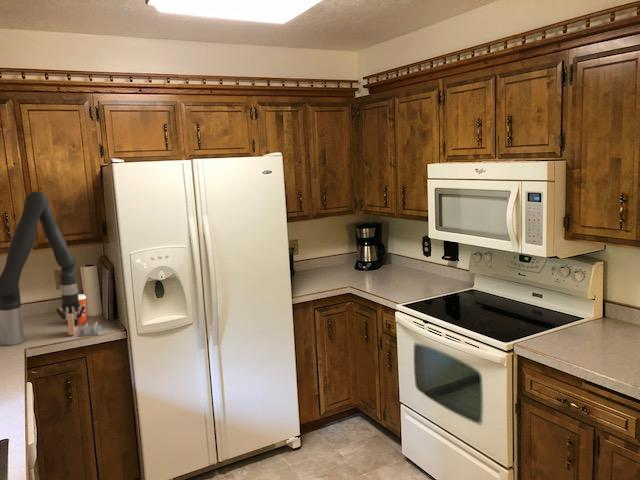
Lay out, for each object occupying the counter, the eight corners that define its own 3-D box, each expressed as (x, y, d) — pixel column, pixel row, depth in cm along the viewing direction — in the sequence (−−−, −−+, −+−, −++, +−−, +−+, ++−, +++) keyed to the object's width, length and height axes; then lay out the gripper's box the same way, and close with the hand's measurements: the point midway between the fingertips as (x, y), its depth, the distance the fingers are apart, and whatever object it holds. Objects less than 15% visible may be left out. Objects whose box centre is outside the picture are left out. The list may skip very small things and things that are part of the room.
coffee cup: (77, 326, 280) (74, 298, 278) (69, 323, 285) (66, 296, 283) (91, 322, 287) (89, 295, 284) (83, 319, 292) (81, 293, 289)
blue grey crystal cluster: (80, 336, 263) (79, 330, 262) (84, 328, 275) (83, 322, 274) (97, 335, 265) (96, 328, 264) (101, 327, 277) (100, 320, 276)
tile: (73, 334, 263) (72, 315, 262) (68, 335, 263) (66, 315, 261) (77, 329, 272) (75, 310, 270) (72, 329, 271) (70, 310, 270)
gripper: (52, 295, 259) (55, 329, 262) (83, 293, 262) (86, 327, 265) (55, 292, 266) (59, 325, 269) (85, 289, 270) (88, 322, 272)
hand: (72, 326), depth 267 cm, fingers closed on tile, 2 cm apart
